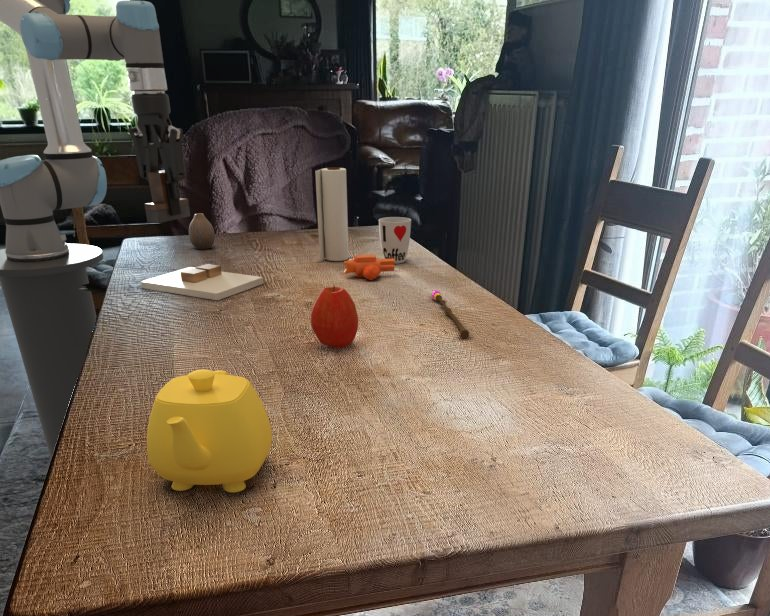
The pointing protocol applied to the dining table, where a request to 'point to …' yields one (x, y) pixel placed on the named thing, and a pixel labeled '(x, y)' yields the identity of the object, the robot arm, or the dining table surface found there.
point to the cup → (395, 237)
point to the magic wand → (450, 314)
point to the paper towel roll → (332, 213)
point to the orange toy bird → (368, 266)
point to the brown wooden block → (193, 275)
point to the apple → (334, 318)
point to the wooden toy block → (162, 200)
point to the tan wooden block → (211, 270)
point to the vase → (201, 232)
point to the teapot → (208, 431)
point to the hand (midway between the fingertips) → (168, 213)
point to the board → (203, 284)
